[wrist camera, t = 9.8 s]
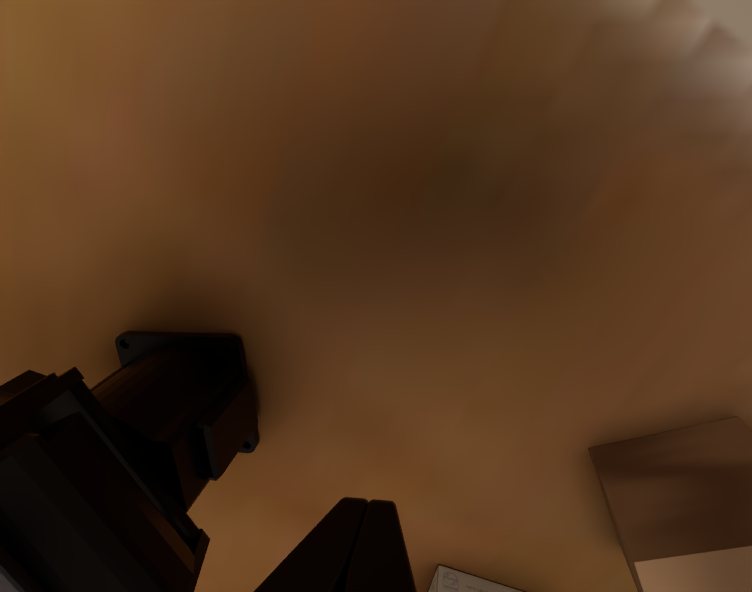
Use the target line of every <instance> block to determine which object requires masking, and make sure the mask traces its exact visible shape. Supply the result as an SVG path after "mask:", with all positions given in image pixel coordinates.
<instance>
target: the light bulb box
mask: <svg viewBox="0 0 752 592" xmlns="http://www.w3.org/2000/svg"><path fill="white" fill-rule="evenodd" d="M428 592H523V591H519V590H516V589H513V588H510V587H507V586H504V585H500V584H497V583H494V582H491V581H488V580H485V579H481V578H479V577H475V576H472V575H469V574H466V573H463V572H459V571H456V570H453V569H450V568H447V567H444V566H440V565H439V566H438V567H437V570H436V572H435V575H434V578H433V580H432V583H431V586H430V589H429V591H428Z"/></svg>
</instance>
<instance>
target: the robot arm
mask: <svg viewBox="0 0 752 592" xmlns="http://www.w3.org/2000/svg"><path fill="white" fill-rule="evenodd" d="M125 340H126V341H127V342H128V343H129V345H128V344H127V343H126V341H125ZM228 342H230V343H231V344H232V345H233V347H234V348H231V347H230V346H229V345H228ZM115 343H116V347H117V351H118V355H119V359H120V362H121V366H122V367H121V368H119V369H118V370H117V371H115V372H114V373H112V374H111V375H109V376H108V377H107V378H105V379H104V380H102V381H101V382H100V383H98V384H97V385H95V386H94V387H92V388H91V389H90V390H89V388H88V387H87V386H86V384H85V383H84V382H83V381H82V379H84V377H83V376H82V374H81V373H80V372H79V371H78V369H77V368H76V367H73V368H72V369H70V370H68V371H66V372H65V373H63V374H61V375H59V376H57V375H56V374H55V373H52V374H50V375H48V376H45V375H43V374H40V373H37V372H34V371H31V370H28V371H26V372H24V373H23V374H21V375H19V376H17V377H16V378H14V379H12V380H10V381H8V382H7V383H5V384H3V385H1V386H0V592H194V590H195V586H196V583H197V580H198V577H199V574H200V570H201V567H202V564H203V561H204V558H205V554H206V551H207V548H208V545H209V541H210V538H209V537H208V536H207V534H206V533H205V532H204V531H203V529H198V527H197V526H196V525H195V524H194V522H193V521H192V520H191V518H190V517H189V516H188V515H187V511H188V510H189V509H190V507H191V506H192V504H193V503H194V502H195V500H196V499H197V497H198V496H199V495H200V493H201V492H202V490H203V489H204V488H205V486H206V485H207V483H208V482H209V480H215V481H216V480H218V479H219V478H220V477H221V476H222V474H223V473H224V472H225V470H226V469H227V467H228V466H229V464H230V463H231V461H232V460H233V458H234V457H235V455H236V454H237V453H238V452H241V453H251V452H253V451H254V450H255V448H256V447H257V445H258V443H259V440H258V434H257V428H256V425H257V423H258V418H257V412H256V406H255V400H254V394H253V388H252V382H251V379H250V378H249V376H248V374H247V368H246V362H245V357H244V351H243V345H242V341H241V339H240V338H239V337H238V336H236V335H234V334H219V333H172V332H124V333H122V334H121V335H119V336H118V337H116V340H115ZM246 441H248V442H249V443H250V444H248V443H247V442H246ZM254 592H417V591H416V587H415V582H414V578H413V574H412V570H411V566H410V562H409V558H408V554H407V550H406V545H405V541H404V537H403V533H402V529H401V525H400V521H399V517H398V512H397V508H396V505H395V503H394V502H393V501H386V500H375V499H373V500H371V501H370V502H368V501H367V500H366V499H363V498H352V497H345V498H343V499H341V500H340V501H339V502H338V503H337V504H336V505H335V506H334V507H333V508H332V509H331V510H330V512H329V513H328V514H327V515H326V516H325V517H324V518H323V519H322V520H321V521H320V522H319V523H318V524H317V525H316V526H315V527H314V528H313V530H312V531H311V532H310V533H309V534H308V535H307V536H306V537H305V538H304V539H303V540H302V541H301V542H300V543H299V544H298V545H297V546H296V548H295V549H294V550H293V551H292V552H291V553H290V554H289V555H288V556H287V557H286V558H285V559H284V560H283V561H282V562H281V563H280V564H279V565H278V567H277V568H276V569H275V570H274V571H273V572H272V573H271V574H270V575H269V576H268V577H267V578H266V579H265V580H264V581H263V582H262V583H261V585H260V586H259V587H258V588H257V589H256V590H255V591H254Z"/></svg>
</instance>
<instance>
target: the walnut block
mask: <svg viewBox="0 0 752 592" xmlns="http://www.w3.org/2000/svg"><path fill="white" fill-rule="evenodd" d="M588 449H589V452H590V455H591V458H592V461H593V464H594V467H595V470H596V473H597V476H598V479H599V482H600V485H601V488H602V491H603V494H604V497H605V500H606V503H607V506H608V509H609V512H610V515H611V518H612V521H613V524H614V527H615V530H616V533H617V536H618V539H619V542H620V545H621V548H622V551H623V553H624V556H625V559H626V561H627V564H628V566H629V569H630V572H631V574H632V577H633V579H634V582H635V585H636V587H637V590H638V592H752V431H751V430H750V429H749V428H748V427H747V426H746V425H745V424H744V423H743V422H742V421H741V420H740V419H739V418H738V417H733V418H728V419H723V420H719V421H714V422H709V423H704V424H700V425H695V426H690V427H686V428H681V429H676V430H671V431H667V432H662V433H657V434H652V435H648V436H643V437H638V438H634V439H629V440H624V441H619V442H615V443H610V444H605V445H600V446H596V447H591V448H588Z"/></svg>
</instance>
